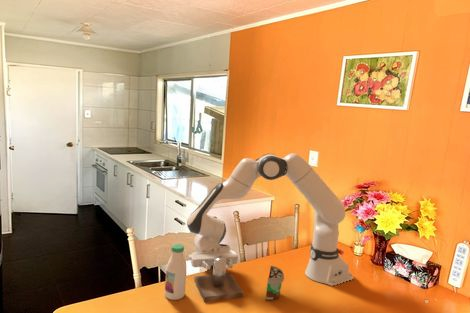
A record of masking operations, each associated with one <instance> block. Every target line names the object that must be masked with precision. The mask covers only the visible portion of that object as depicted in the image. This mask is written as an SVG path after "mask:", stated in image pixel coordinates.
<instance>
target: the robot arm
mask: <svg viewBox="0 0 470 313" xmlns="http://www.w3.org/2000/svg"><path fill="white" fill-rule="evenodd" d="M283 176H286V177H287V178H288V179H289V180H290V181H291V183H292V184H293V185H294V186H295V187H296V189H297V190H298V191H299V192H300V193H301V195H303V197H304V198H305V199H306V200H307V202H308V203H309V204H310V205H311V206H312V208H313V209H314V217H313V218H314V221H313V222H314V223H313V224H314V226H313V236H312V243H311V245H310V250H309V252H310V253H309V254H310V256H309V260H308V263H307V266H306V269H305V271H304V273H305V276H306V277H307V278H309V279H310V280H312V281H314V282H317V283H322V284H326V285H329V286H331V287H332V286H333V285H334V286H337V284H338V285H340V283H341V284H344V283H347V282H346V281H348V282H350V281H349V280H351V281H353V280H354V276H353V274H352V273H351V272H350V267H349V265H348V263H347V262H346V261H345V260H344V259H343V258H342V257H341V256H343V255H344V254H345V252H344V250H342V249H339V248H338V244H339V243H338V241H339V236H340V231H339V230H340V229H339V224H340V223H341V222H343V221H344V219H345V217H346V208H345V205H344V203H343V202H342V201H341V200H340V198H339V197H338V195H336V194H335V193H334V192H333V190H332V189H331V188H330V187H329V186H328V185H327V183H326V182H325V181H324V180H323V179H322V178H321V176H320V175H319V174H318V173H317V172H316V170H314V168H313V167H312V166H311V165H310V164H309V163H308V162H307V161H306V160H305V159H304V158H303V157H301V155H299V154H298V153H295V152H293V153H292V152H291V153H289V154H286V155H285V156H284V157H280V156H277V155H276V154H275V153H266V154H263V155H262V156H260V157H257V158H256V159H255V160H254V159H253V158H249V157H246V158H245V157H244V158H242V159H241V160H240V161H239V163H238V164H237V165H236V166H235V168H233V171H232V172H231V174H230V175H229V177H228V178H227V179H226V180H225V181H223V182H222V183H217V185H215V186H214V187H213V189H211V191H210V192H209V193H208V194H207V195H206V196H205V198H204V199H203V201H202V202H200V204H199V205H198V207H196V209H195V210H193V212H191V214H190V215H189V217H188V219H187V220H186V226H187V229H188V230H189V232H190V233H191V234H197V235H195V236H194V238H195V239H193V240H194V242H193V243H194V247H195V249H196V251H194V252H191V253H189V254H188V259H189V260H190V263H191V266H192V267H193V268H203V269H205V270H206V271H210V270H211V267H214V258H215V257H216V256H223V257H226V259H227V260H226V266H227V268H228V269H231V268H232V269H233V265H235V264H236V265H237V264H238V262H239V255H238V253H237V252H236V251H235V250H234V249H232V248H231V247H230V245H229V244H224V243H223V244H222V242H223V240H224V238H225V237H226V234H227V227H226V226H227V225H226V223H225V221H224V220H221V219H220V218H217V217H214V216H212V215H209V214H208V213H209V212H210V210H211V209H212V208H213V207H214V205H215V204H216V203H217V202H218V201H219V202H220V201H221V200H240V199H242V198H244V197H246V196H247V195H248V194H249V192H250V190H251V188H252V187H253V185H254V184H255V182H256V180H257V179H258V178H260V177H261V178H264V179H265V180H269V181H274V180H277V179H279V178H282V177H283ZM340 255H341V256H340ZM352 279H353V280H352ZM343 282H344V283H343Z"/></svg>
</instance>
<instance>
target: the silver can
mask: <svg viewBox="0 0 470 313" xmlns="http://www.w3.org/2000/svg"><path fill="white" fill-rule="evenodd" d="M226 260H227V259H226V257H223V256H216V257H215V258H214V266H213V268H212V275H213V279H212V285H213V286H215V287H222V286H224V281H225V273H226V268H227V265H226Z"/></svg>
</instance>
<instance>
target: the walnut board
mask: <svg viewBox="0 0 470 313" xmlns="http://www.w3.org/2000/svg"><path fill="white" fill-rule="evenodd" d="M212 279H213V274H206V275H205V274H204V275H196V276H195V275H194V278H193V281H194V283H195V286H196V287H197V289H198V290H197V291H199V293H200V296H201V298H202V300H203V302H205V303H208V302H215V301H222V300H231V299H239V298H243V297H244V291H243V290H242V288H241V287H240V285H239V284H238V282H237V281H236V279H235V278H234V277H233V275H232V274H231V272H225V281H224V286H222V287H215V286H213V285H212Z"/></svg>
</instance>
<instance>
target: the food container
mask: <svg viewBox="0 0 470 313" xmlns="http://www.w3.org/2000/svg"><path fill="white" fill-rule="evenodd" d="M284 281H285V274H284V272H283V270H282V269H281V268H279V267H277V266H274V265H270V268H269V273H268V278H267V285H266V292H265V293H266V294H265V301H266V302H275V301H277V300H279V298H280V294H281V289H282V284H283V282H284Z"/></svg>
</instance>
